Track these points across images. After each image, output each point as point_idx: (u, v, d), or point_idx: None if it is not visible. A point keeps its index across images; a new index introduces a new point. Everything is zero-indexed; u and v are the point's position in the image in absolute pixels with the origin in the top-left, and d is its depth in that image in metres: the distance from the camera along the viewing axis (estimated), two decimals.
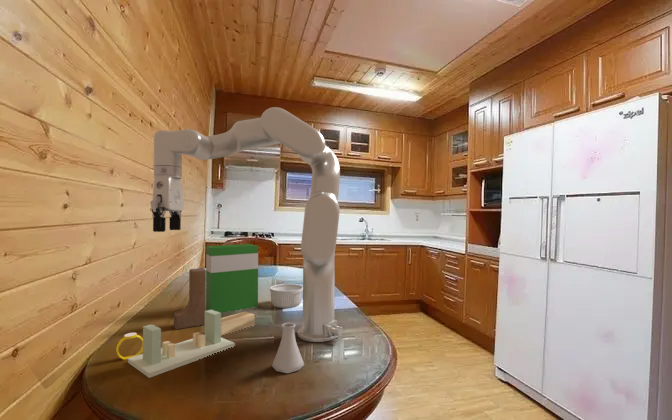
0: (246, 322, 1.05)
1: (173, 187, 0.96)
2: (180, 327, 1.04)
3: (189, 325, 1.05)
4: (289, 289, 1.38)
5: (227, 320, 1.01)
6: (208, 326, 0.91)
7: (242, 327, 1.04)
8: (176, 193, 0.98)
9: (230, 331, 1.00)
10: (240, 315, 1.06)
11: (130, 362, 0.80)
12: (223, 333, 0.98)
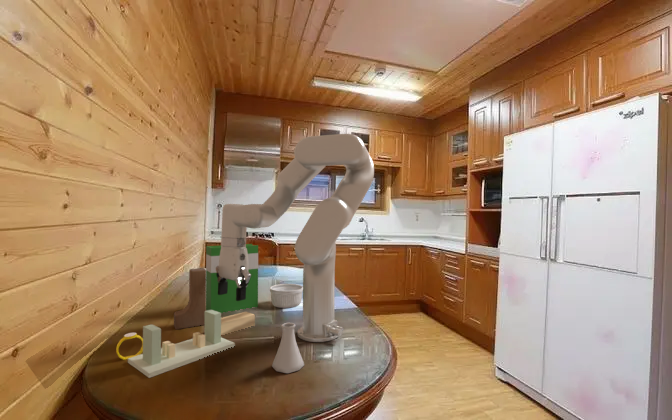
0: (246, 322, 1.05)
1: None
2: (180, 327, 1.04)
3: (189, 325, 1.05)
4: (289, 289, 1.38)
5: (227, 320, 1.01)
6: (208, 326, 0.91)
7: (242, 327, 1.03)
8: None
9: (229, 331, 1.00)
10: (240, 315, 1.06)
11: (130, 362, 0.80)
12: (222, 333, 0.98)
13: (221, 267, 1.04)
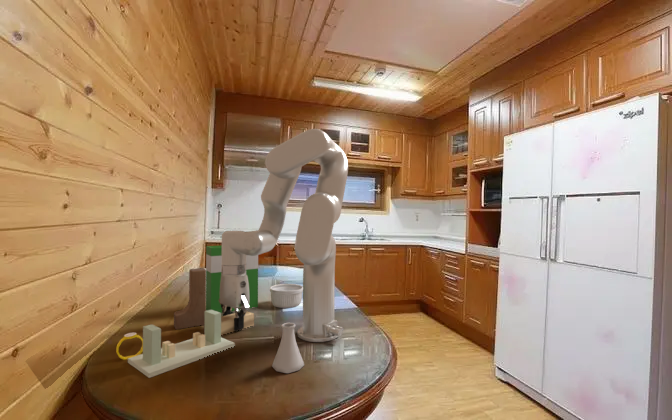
0: (245, 321, 1.05)
1: None
2: (180, 327, 1.04)
3: (189, 325, 1.05)
4: (289, 289, 1.38)
5: (226, 319, 1.01)
6: (208, 326, 0.91)
7: None
8: None
9: (228, 330, 1.00)
10: None
11: (130, 362, 0.80)
12: (221, 332, 0.98)
13: (222, 294, 1.04)
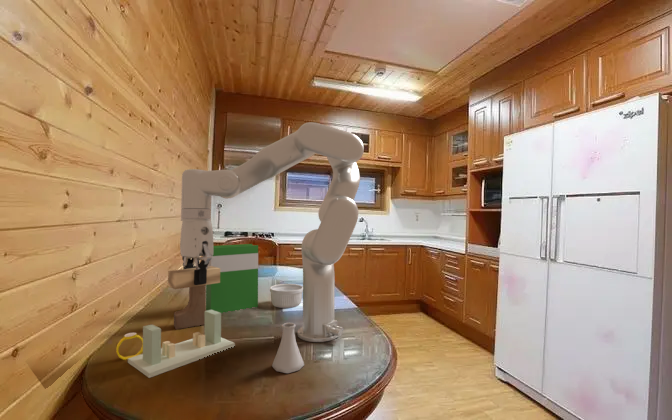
0: (209, 276, 0.90)
1: None
2: (180, 327, 1.04)
3: (189, 325, 1.05)
4: (289, 289, 1.38)
5: (185, 271, 0.86)
6: (208, 326, 0.91)
7: None
8: None
9: (187, 283, 0.85)
10: None
11: (130, 362, 0.80)
12: (178, 285, 0.84)
13: (182, 244, 0.89)
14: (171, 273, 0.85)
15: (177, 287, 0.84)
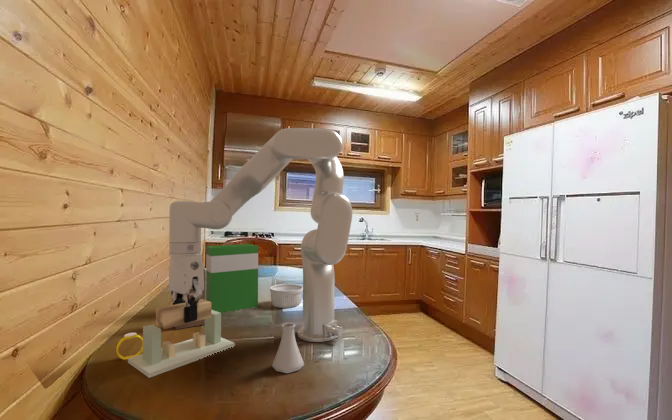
0: (200, 312, 0.86)
1: None
2: (180, 327, 1.04)
3: (189, 325, 1.05)
4: (289, 289, 1.38)
5: (174, 308, 0.82)
6: (208, 326, 0.91)
7: None
8: None
9: (177, 322, 0.82)
10: None
11: (130, 362, 0.80)
12: (167, 324, 0.80)
13: (171, 279, 0.85)
14: (159, 311, 0.81)
15: (166, 326, 0.80)
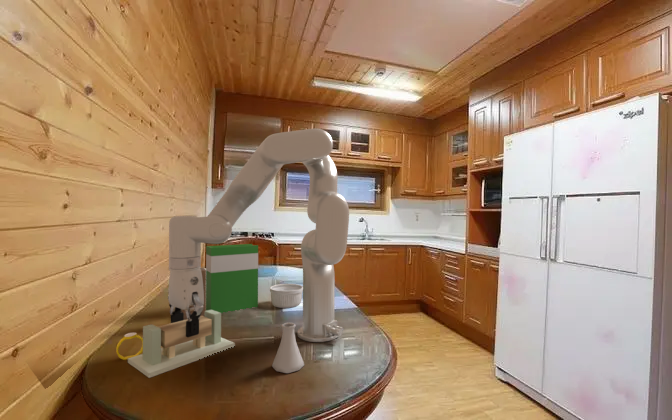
0: (200, 329, 0.86)
1: None
2: None
3: None
4: (289, 289, 1.38)
5: (175, 327, 0.82)
6: None
7: None
8: None
9: (177, 340, 0.82)
10: None
11: (130, 362, 0.80)
12: (167, 343, 0.80)
13: (171, 294, 0.85)
14: None
15: (167, 346, 0.80)
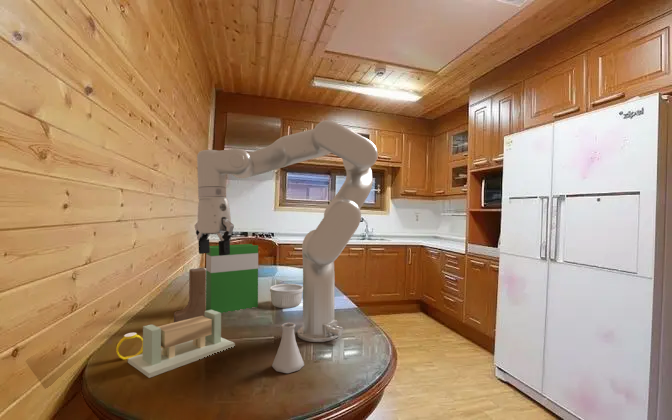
0: (200, 329, 0.86)
1: None
2: None
3: None
4: (289, 289, 1.38)
5: (175, 327, 0.82)
6: None
7: (194, 335, 0.85)
8: None
9: (177, 340, 0.82)
10: (193, 320, 0.87)
11: (130, 362, 0.80)
12: (167, 343, 0.80)
13: (200, 222, 0.94)
14: None
15: (167, 346, 0.80)
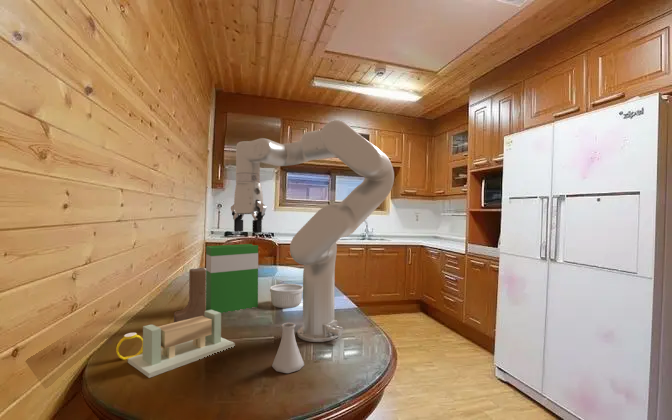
0: (200, 329, 0.86)
1: None
2: None
3: None
4: (289, 289, 1.38)
5: (175, 327, 0.82)
6: None
7: (194, 335, 0.85)
8: None
9: (177, 340, 0.82)
10: (193, 320, 0.87)
11: (130, 362, 0.80)
12: (167, 343, 0.80)
13: (237, 203, 1.08)
14: None
15: (167, 346, 0.80)
